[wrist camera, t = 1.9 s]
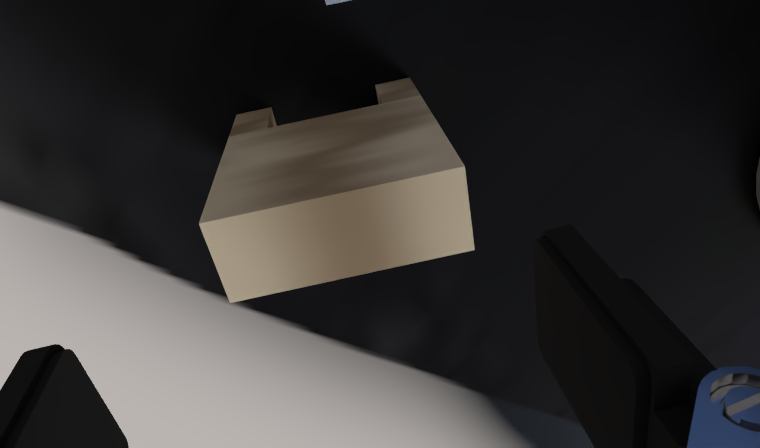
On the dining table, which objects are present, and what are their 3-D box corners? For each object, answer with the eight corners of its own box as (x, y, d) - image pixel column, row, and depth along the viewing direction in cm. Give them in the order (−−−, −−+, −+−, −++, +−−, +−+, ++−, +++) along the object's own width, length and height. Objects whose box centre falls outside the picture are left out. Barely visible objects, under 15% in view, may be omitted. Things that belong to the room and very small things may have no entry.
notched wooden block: (409, 77, 22) (464, 166, 15) (419, 138, 24) (474, 250, 16) (236, 114, 22) (199, 223, 15) (255, 173, 24) (230, 303, 16)
